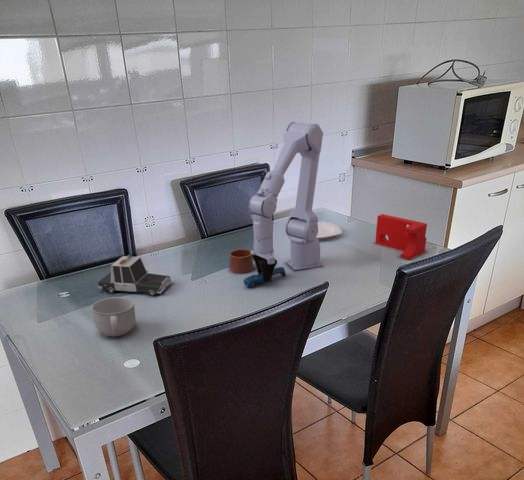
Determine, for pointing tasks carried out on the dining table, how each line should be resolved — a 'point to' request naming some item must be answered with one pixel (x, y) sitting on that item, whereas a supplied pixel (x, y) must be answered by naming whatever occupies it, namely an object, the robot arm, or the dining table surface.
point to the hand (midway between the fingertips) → (264, 278)
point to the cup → (241, 261)
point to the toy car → (133, 277)
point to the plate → (327, 230)
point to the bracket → (401, 235)
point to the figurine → (259, 278)
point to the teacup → (114, 315)
